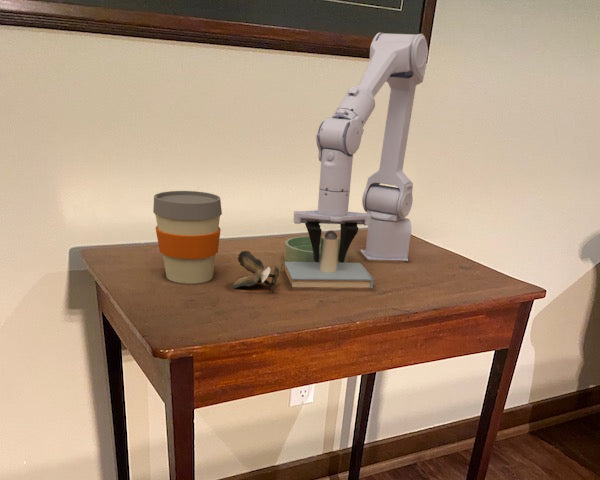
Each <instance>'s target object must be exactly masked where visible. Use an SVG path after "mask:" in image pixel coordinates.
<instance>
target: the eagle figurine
mask: <svg viewBox="0 0 600 480" xmlns="http://www.w3.org/2000/svg"><path fill="white" fill-rule="evenodd" d="M237 260H238V263H239V265H240V266H241V267H243V268H244V269H245V270H246V271H247V272H250V273H251V274H253V275H248V276H242V277H240V278H238V279H237V280H236V281H235V282H234V283H232V284H231V288H232V289H238V288H241V287H252V286H255V285H261V284H265V285H267V286H269V287H270V291H271V292H272V293H275V286H276V283H277V281H278V277H279V276H280V274H281V271H282V270H283V267H284V263H281V265H280V266H279V267H278V266H277V265H275V266H274V269H273V273H271V267H270V266H267V267H266V268H265V264H264V263H263V262H262V260H261V259H260V258H256V257H255V256H254V255H253V254H252V253H251V251H249V250H242V251H240V252H239V254H238V257H237ZM268 278H272V279H271V282H270V281H269V280H268Z"/></svg>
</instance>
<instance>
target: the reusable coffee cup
mask: <svg viewBox="0 0 600 480" xmlns="http://www.w3.org/2000/svg"><path fill="white" fill-rule="evenodd" d="M222 210H223V209H222V203H221V197H220V196H219V195H217V194H214V193H211V192H206V191H205V192H204V191H197V190H195V191H194V190H169V191H162V192H158V193H156V194H155V195H153V209H152V212H153V214H154V215H155V219H156V226H155V234H156V237H157V238H156V239H157V245H158V250H159V252H160V254H161V255H162V260H163V265H164V271H165V276H166V279H167V280H169V281H171V282H172V283H178V284H186V285H187V284H189V285H191V284H193V285H194V284H203V283H207V282H209V281H211V280H212V279H213V277H214V269H215V261H216V255H217V254H218V253H219V245H220V237H221V227H220V219H221V216H222V214H223V211H222Z"/></svg>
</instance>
